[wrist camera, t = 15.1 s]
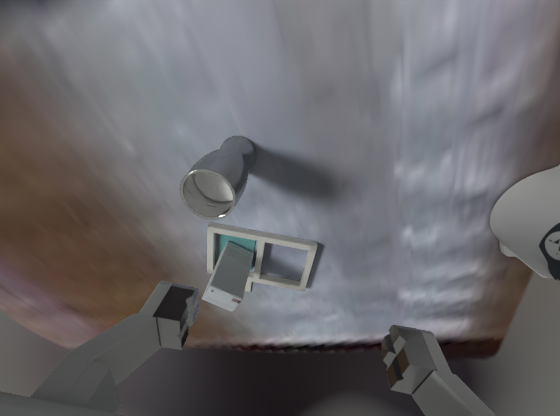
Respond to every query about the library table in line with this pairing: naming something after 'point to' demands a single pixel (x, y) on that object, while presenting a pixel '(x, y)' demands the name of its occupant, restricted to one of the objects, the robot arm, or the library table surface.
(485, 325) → the library table surface
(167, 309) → the robot arm
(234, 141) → the beer glass
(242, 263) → the skincare box
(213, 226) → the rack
